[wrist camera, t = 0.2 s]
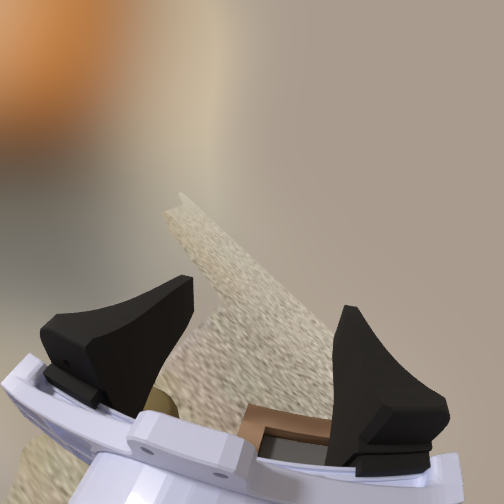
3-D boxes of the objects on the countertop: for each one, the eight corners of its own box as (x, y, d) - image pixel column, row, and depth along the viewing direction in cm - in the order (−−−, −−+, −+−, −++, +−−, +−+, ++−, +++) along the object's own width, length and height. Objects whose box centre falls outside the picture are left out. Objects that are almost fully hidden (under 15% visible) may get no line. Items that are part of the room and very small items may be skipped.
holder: (360, 543, 13) (369, 540, 12) (204, 522, 16) (203, 520, 15) (367, 433, 27) (374, 424, 26) (246, 412, 29) (248, 403, 28)
